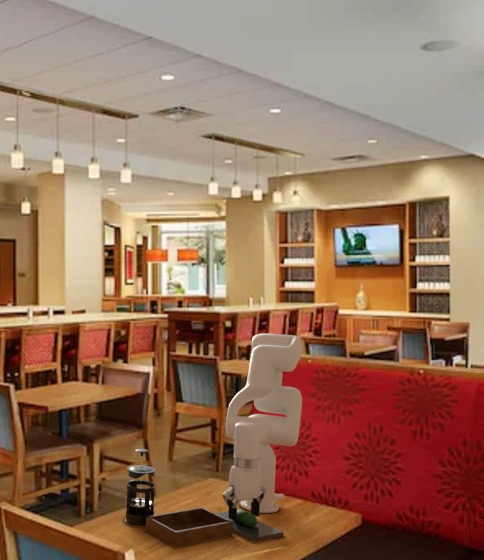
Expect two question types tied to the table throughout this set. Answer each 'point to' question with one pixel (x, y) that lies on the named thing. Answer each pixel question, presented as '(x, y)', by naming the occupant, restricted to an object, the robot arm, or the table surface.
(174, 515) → the brown wooden tray
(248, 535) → the board
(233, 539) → the table surface
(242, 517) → the cucumber
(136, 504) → the french press
